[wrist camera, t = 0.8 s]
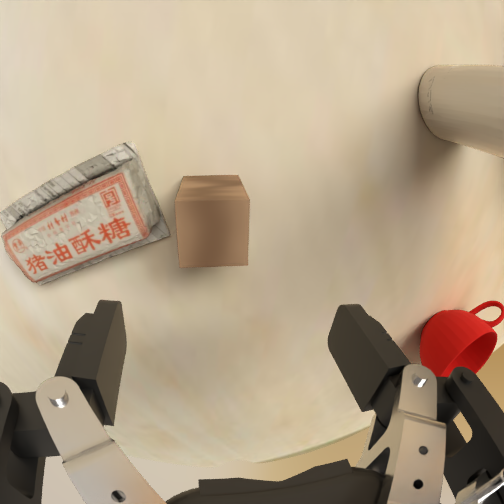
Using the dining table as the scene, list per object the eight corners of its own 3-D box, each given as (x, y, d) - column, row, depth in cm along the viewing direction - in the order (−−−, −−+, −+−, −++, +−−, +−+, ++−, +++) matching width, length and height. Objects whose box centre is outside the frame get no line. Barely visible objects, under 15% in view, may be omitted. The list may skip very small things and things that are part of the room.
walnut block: (238, 175, 27) (249, 199, 20) (237, 225, 29) (247, 265, 22) (183, 176, 26) (174, 201, 19) (185, 226, 28) (179, 267, 21)
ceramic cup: (483, 298, 42) (515, 329, 33) (421, 362, 46) (447, 400, 37) (467, 261, 37) (509, 296, 28) (393, 339, 41) (424, 385, 32)
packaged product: (121, 142, 20) (166, 253, 25) (135, 137, 24) (172, 231, 29) (-19, 224, 20) (25, 304, 25) (5, 208, 24) (42, 281, 29)
